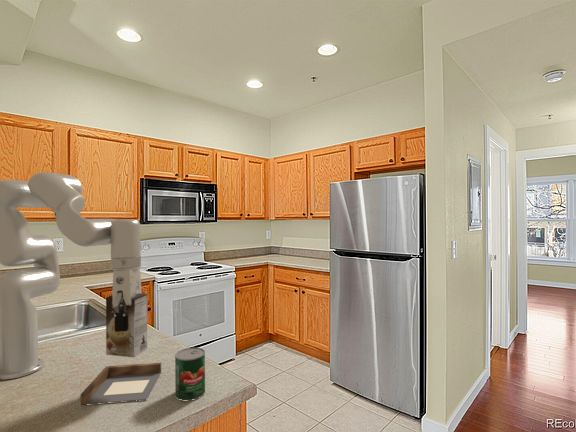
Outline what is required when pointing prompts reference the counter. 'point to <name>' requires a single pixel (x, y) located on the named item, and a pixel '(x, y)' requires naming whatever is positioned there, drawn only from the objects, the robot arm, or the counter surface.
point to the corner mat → (125, 388)
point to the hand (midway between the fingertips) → (127, 325)
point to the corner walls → (117, 371)
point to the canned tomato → (190, 373)
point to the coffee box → (136, 334)
